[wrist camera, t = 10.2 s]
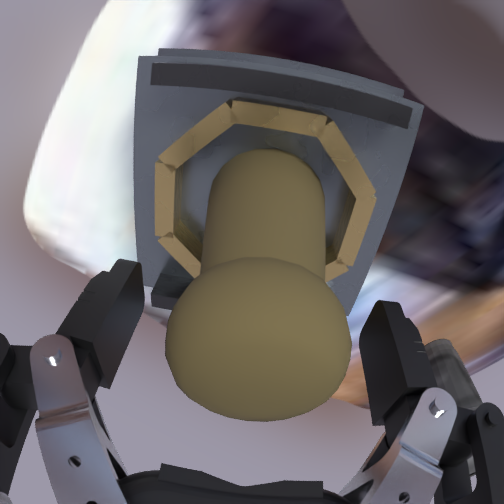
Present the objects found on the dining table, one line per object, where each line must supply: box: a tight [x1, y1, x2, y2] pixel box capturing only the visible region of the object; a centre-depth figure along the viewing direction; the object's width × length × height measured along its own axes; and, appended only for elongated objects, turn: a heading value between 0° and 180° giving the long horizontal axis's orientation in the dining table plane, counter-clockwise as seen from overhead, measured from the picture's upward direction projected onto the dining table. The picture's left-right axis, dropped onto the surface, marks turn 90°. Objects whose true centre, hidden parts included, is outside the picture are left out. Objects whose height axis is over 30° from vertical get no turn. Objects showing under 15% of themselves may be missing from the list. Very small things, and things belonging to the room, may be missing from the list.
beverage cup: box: [424, 339, 483, 477], centre depth 22 cm, size 7×7×20 cm
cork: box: [165, 149, 352, 422], centre depth 12 cm, size 6×6×11 cm
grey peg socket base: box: [134, 48, 424, 316], centre depth 18 cm, size 15×15×7 cm
